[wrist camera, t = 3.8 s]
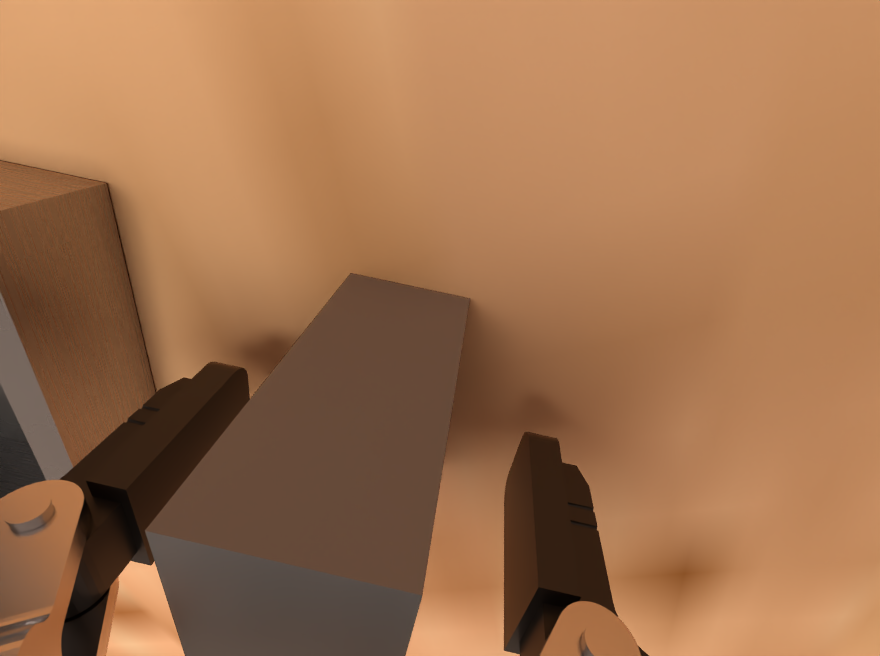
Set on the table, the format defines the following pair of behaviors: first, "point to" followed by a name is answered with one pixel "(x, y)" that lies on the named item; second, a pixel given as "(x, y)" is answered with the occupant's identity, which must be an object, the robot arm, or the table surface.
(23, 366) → the rack
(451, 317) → the rectangular block
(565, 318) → the table surface
